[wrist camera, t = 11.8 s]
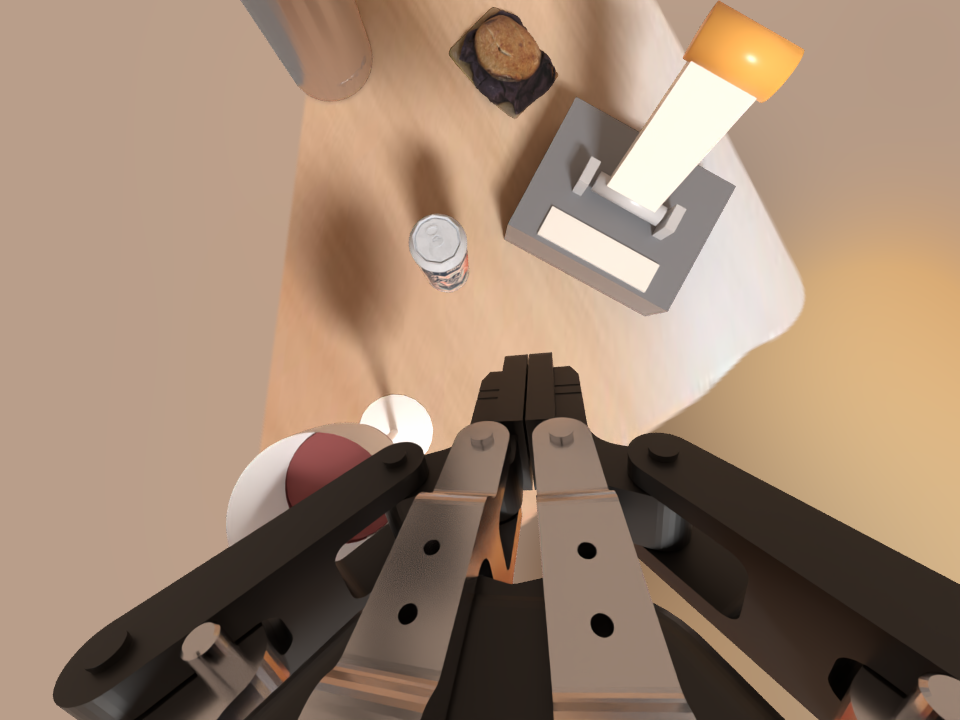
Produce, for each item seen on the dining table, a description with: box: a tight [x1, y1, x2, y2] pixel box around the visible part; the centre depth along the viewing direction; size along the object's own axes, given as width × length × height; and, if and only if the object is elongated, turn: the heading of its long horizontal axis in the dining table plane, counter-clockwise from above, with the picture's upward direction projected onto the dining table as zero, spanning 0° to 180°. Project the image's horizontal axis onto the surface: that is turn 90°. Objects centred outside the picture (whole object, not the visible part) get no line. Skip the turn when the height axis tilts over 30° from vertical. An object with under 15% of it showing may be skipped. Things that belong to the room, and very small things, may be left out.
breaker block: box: [504, 97, 736, 316], centre depth 38 cm, size 14×18×8 cm
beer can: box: [409, 214, 469, 292], centre depth 36 cm, size 5×5×12 cm
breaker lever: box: [591, 1, 804, 226], centre depth 30 cm, size 3×7×15 cm, turn 61°
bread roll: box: [449, 7, 558, 119], centre depth 40 cm, size 11×8×4 cm
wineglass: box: [226, 395, 433, 561], centre depth 31 cm, size 9×10×22 cm
